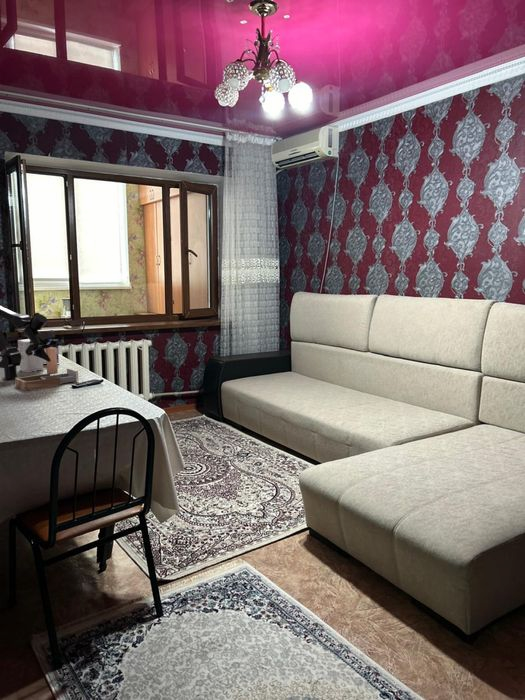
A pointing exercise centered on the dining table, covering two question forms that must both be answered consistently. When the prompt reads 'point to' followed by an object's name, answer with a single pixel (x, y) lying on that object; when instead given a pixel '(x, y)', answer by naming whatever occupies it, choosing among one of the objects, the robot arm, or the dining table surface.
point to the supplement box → (28, 358)
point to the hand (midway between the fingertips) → (53, 360)
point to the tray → (65, 376)
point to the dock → (36, 382)
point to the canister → (52, 360)
